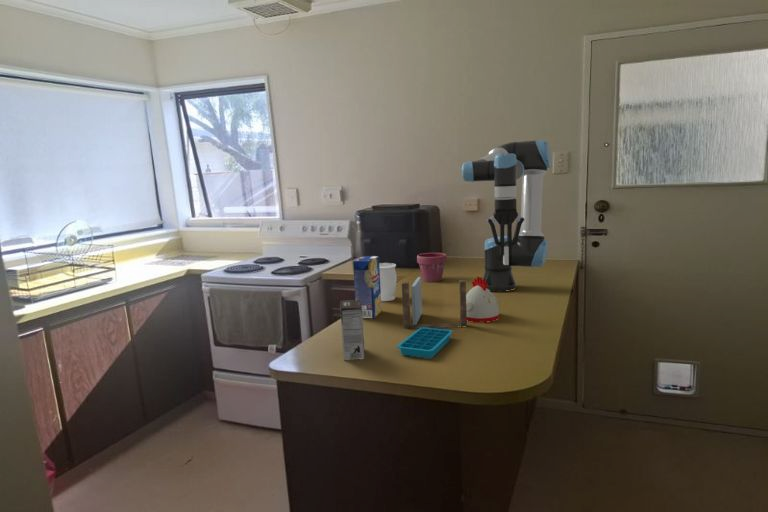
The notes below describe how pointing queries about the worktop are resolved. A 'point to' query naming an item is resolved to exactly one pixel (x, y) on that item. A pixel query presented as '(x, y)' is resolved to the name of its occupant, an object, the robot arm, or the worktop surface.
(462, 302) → the door frame
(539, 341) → the worktop surface
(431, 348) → the ice cube tray
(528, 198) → the robot arm
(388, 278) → the jar
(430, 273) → the plant pot
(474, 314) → the kitchen timer
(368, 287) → the blue cardboard box
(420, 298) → the door
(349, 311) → the coffee box
